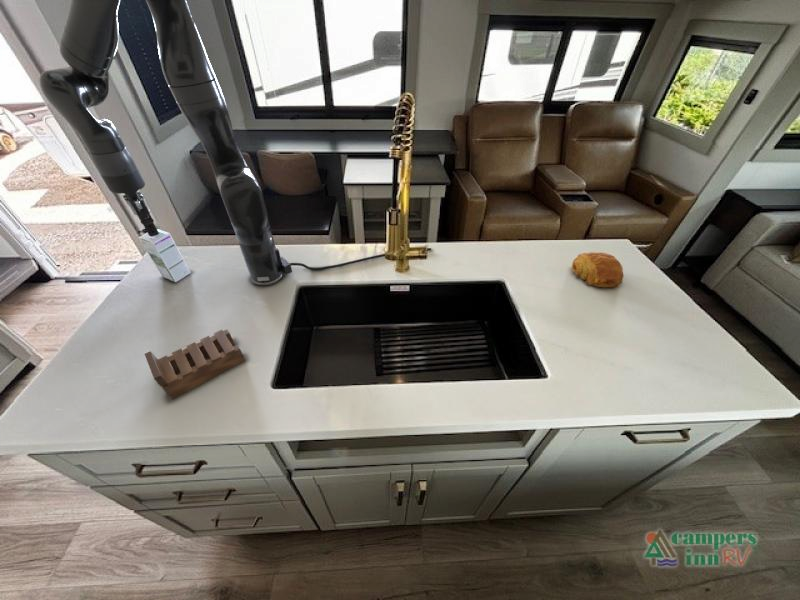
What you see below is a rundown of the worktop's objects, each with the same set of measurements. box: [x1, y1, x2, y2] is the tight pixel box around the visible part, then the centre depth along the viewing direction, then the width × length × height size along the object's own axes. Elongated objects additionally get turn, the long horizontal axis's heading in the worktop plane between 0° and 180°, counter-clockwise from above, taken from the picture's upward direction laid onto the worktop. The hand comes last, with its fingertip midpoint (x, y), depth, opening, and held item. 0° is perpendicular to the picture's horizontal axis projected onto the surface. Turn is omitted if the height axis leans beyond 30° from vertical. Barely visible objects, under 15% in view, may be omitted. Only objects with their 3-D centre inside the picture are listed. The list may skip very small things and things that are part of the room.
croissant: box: [571, 251, 624, 288], centre depth 104 cm, size 14×16×8 cm
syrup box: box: [138, 228, 191, 283], centre depth 95 cm, size 6×6×14 cm
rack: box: [144, 328, 246, 400], centre depth 73 cm, size 16×8×8 cm, turn 132°
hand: (150, 228), depth 89 cm, fingers open, 8 cm apart
